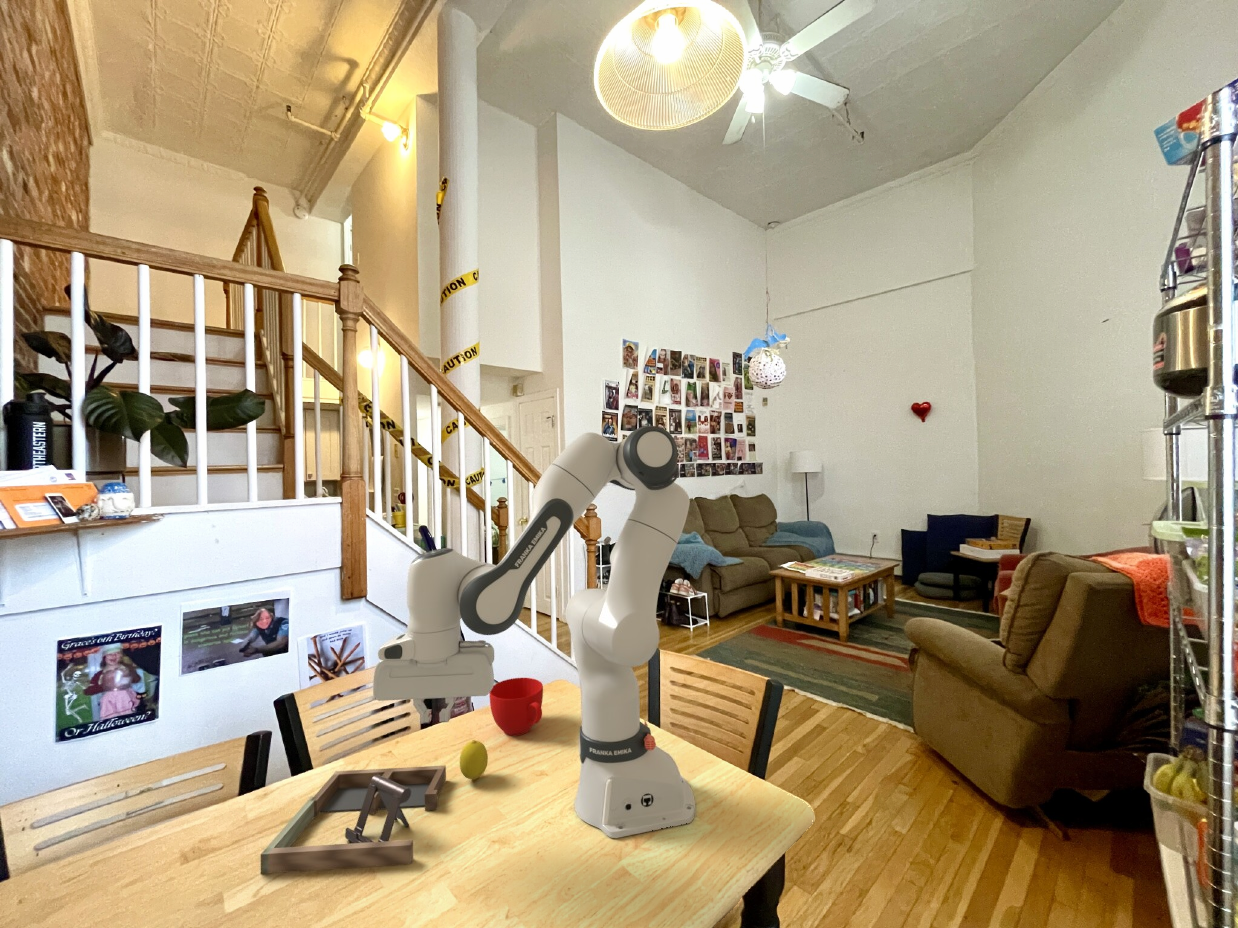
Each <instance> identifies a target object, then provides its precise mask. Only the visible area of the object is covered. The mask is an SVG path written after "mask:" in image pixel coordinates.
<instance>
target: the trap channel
mask: <svg viewBox="0 0 1238 928" xmlns="http://www.w3.org/2000/svg"><path fill="white" fill-rule="evenodd" d="M446 772H447V765H429V766H428V765H427V766H409V767H392V768H389V767H388V768H373V769H372V768H371V769H356V770H355V769H354V770H353V769H352V770H336V771H335V772H334V773H332V775H331V777H329V779H328V780H327V781H326V782H325V783H324V784H323V786H322V787H320V789H319V790H318V791H317V793H316V794H315V795H314V796H310V797H309V798H308V800H307V801H306V802H305V803H304V804H303V805H302V806H301V808H299V810H298V811H297V812H296V813H295V814H294V815H293V817H292V818H290V820H289V821H288V823H286V825H285V826H284V827H283V828H282V829H281V830H280V831H279V833H278V834H277V835H276V836H275V837H274V838H273V839H272V841H271V842H270V843H269V844H268V845H267V846H266V847H265V849H264V850H263V851H262V852H261V853H260V874H273V873H275V874H276V873H290V872H291V873H292V872H307V871H308V872H309V871H321V870H322V871H323V870H338V869H342V870H343V869H352V868H353V869H356V868H370V867H371V868H372V867H373V868H374V867H385V866H386V867H387V866H401V865H411V864H412V861H414V840H413V839H405V840H389V841H385V842H378V841H374V842H368V843H353V842H350V843H341V844H338V843H337V844H335V843H334V844H324V845H323V844H322V845H321V844H320V845H308V846H307V845H304V846H302V845H301V846H292V845H293V844H294V842H296V840H297V839H298V838H299V837H300V835H302V833H303V832H304V830H305V829H306V828H307V827H308V825H309V824H310V823H311V822H312V821H313V820H314V818H318V816H319V815H321V810H322V809H323V807H324V806H325V805H326V804H327V802H328V801H329V800H330V799H331V798H332V796H333V795H334V794H335V793H336V791H337V790H338V789H339V788H349V787H367V786H369V784H370V781H371V779H372V778H373V777H374V776H375V775H380V776H382V777H385V778H387V779H389V780H391V781H394V782H396V783H398V784H400V785H404V784H422V783H430V785H429V787H428V789H427V791H426V793H425V807H424V811H425V812H427V811H437V808H438V806H439V805H438V803H439V801H438V798H439V796H440V794H441V791H442V790H443V787H444V785H445V784H446V780H447V773H446ZM381 803H382V799H381V797H380V795H379V793H378V792H376V794H375V796H374V799H373V802H372V805H371V808H370V811H369V815H374V814H377V812H378V810H379V809H378V807H379V806H380V804H381Z"/></svg>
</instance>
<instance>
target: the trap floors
mask: <svg viewBox="0 0 1238 928" xmlns="http://www.w3.org/2000/svg"><path fill="white" fill-rule="evenodd" d="M429 785H430V783H422V784H404V785H402V786H405V787H407V788H409V789H410V790H411V796H410V798H409V799H408V801H406V802H404V803H401V804H400V808H401V809H405V808H406V809H407V808H408V809H409V808H410V809H411V808H425V793H426V791H427V789H428V787H429ZM368 787H369V786H367V787H349V788H339V789H338V790H337V791H336V793H335V794H334V795H333V796H332V798H331V799H330V800H329V801H328V802H327V804H326V805H325V806H324V807H323V809H322V810H321V813H337V812H338V813H339V812H354V811H355V812H357V811H361V809H362V806H363V802H364V799H365V796H366V793H367V790H368ZM378 810H387V808H386V806H385V804H384V803H383V801H382V803H381V804H380V806H379V807H378ZM321 813H320V814H321Z"/></svg>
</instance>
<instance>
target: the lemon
mask: <svg viewBox="0 0 1238 928" xmlns="http://www.w3.org/2000/svg"><path fill="white" fill-rule="evenodd" d="M488 760H489V758H488V751H487V748H486V746H485V744H484V743H483V742H481V741H479V740H476V739H473V740H471V741H469V742H467V744H465V746H463V747H462V750H461V752H460V756H459V769H460V772H461V774H462V775H463V777H465V778H466V779H469V780H471V781H476V780H477V779H478V778H480V777H481V776H482V775H483V774H484V772H486V769H487V766H488V762H489V761H488Z"/></svg>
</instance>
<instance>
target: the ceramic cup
mask: <svg viewBox="0 0 1238 928" xmlns="http://www.w3.org/2000/svg"><path fill="white" fill-rule="evenodd" d="M543 697H544V686H543V682H542V681H540V680H538V679H536V678H531V677H515V678H514V677H513V678H508V679H504V680H502V681H499V682H496V683H494V686H493V688H492V690H491V691H490V693H489V706H490V711H491V715H492V718H493V720H494V723H496V725H497V727H499V729H500V730H501V731H502V732H503V733H504V734H505V735H506V736H507V735H509V736H521V735H524V734H526V733H528V732H529V731H531V728H532V727H533V726H534V725H536V724H538V723H539V722H540V721H541V720H542V717H543V710H542V706H543Z"/></svg>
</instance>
